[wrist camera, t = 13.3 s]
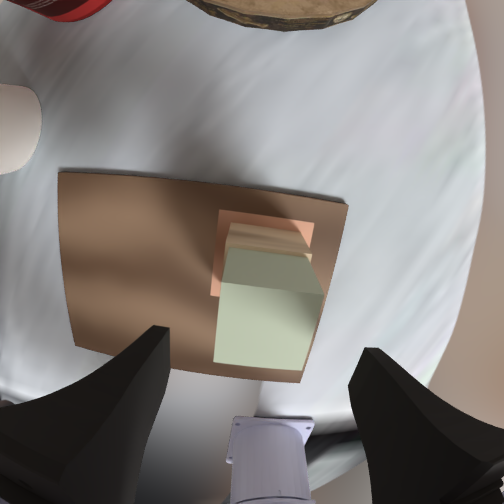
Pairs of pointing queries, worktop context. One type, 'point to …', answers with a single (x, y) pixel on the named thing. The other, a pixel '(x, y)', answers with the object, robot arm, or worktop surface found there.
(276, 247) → the maple brick
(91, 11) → the canned food
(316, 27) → the wood slice
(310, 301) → the sage cube
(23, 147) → the cylindrical container
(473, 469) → the robot arm
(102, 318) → the brown flat board
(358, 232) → the worktop surface
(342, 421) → the worktop surface
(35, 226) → the worktop surface
